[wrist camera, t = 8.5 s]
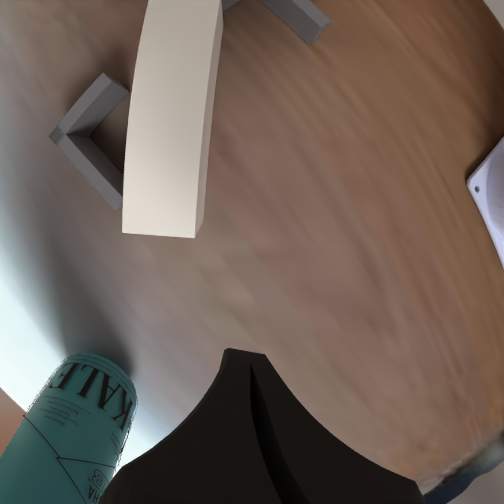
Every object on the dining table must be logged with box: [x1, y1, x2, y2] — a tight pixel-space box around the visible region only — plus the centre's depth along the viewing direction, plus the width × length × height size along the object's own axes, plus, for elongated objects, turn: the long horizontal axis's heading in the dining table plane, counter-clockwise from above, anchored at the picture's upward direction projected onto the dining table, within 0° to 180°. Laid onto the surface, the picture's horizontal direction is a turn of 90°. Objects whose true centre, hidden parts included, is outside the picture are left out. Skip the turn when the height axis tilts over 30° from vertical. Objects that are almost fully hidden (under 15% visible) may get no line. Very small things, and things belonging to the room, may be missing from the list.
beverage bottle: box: [0, 353, 138, 504], centre depth 12 cm, size 6×7×20 cm
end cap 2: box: [221, 0, 331, 46], centre depth 14 cm, size 6×4×3 cm
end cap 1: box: [49, 73, 129, 211], centre depth 16 cm, size 6×4×3 cm
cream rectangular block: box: [122, 0, 223, 238], centre depth 15 cm, size 4×12×4 cm, turn 175°
